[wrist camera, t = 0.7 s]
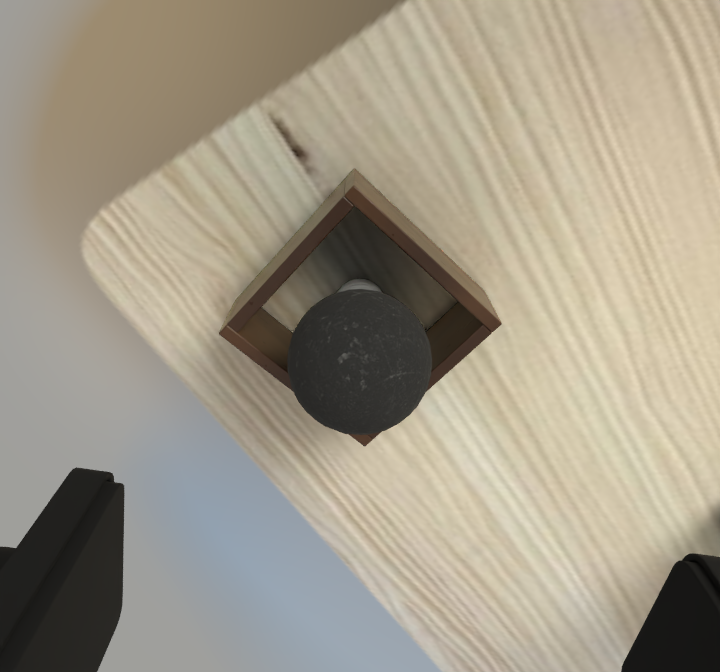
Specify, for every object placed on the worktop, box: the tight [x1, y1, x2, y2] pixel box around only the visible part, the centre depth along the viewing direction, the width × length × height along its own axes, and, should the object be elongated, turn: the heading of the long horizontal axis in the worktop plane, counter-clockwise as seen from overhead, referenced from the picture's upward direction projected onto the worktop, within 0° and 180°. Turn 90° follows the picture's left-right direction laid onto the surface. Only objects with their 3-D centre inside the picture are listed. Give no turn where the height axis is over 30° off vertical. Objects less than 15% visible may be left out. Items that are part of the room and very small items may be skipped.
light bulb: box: [287, 279, 432, 435], centre depth 25 cm, size 6×6×10 cm
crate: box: [219, 169, 502, 446], centre depth 28 cm, size 9×9×4 cm
